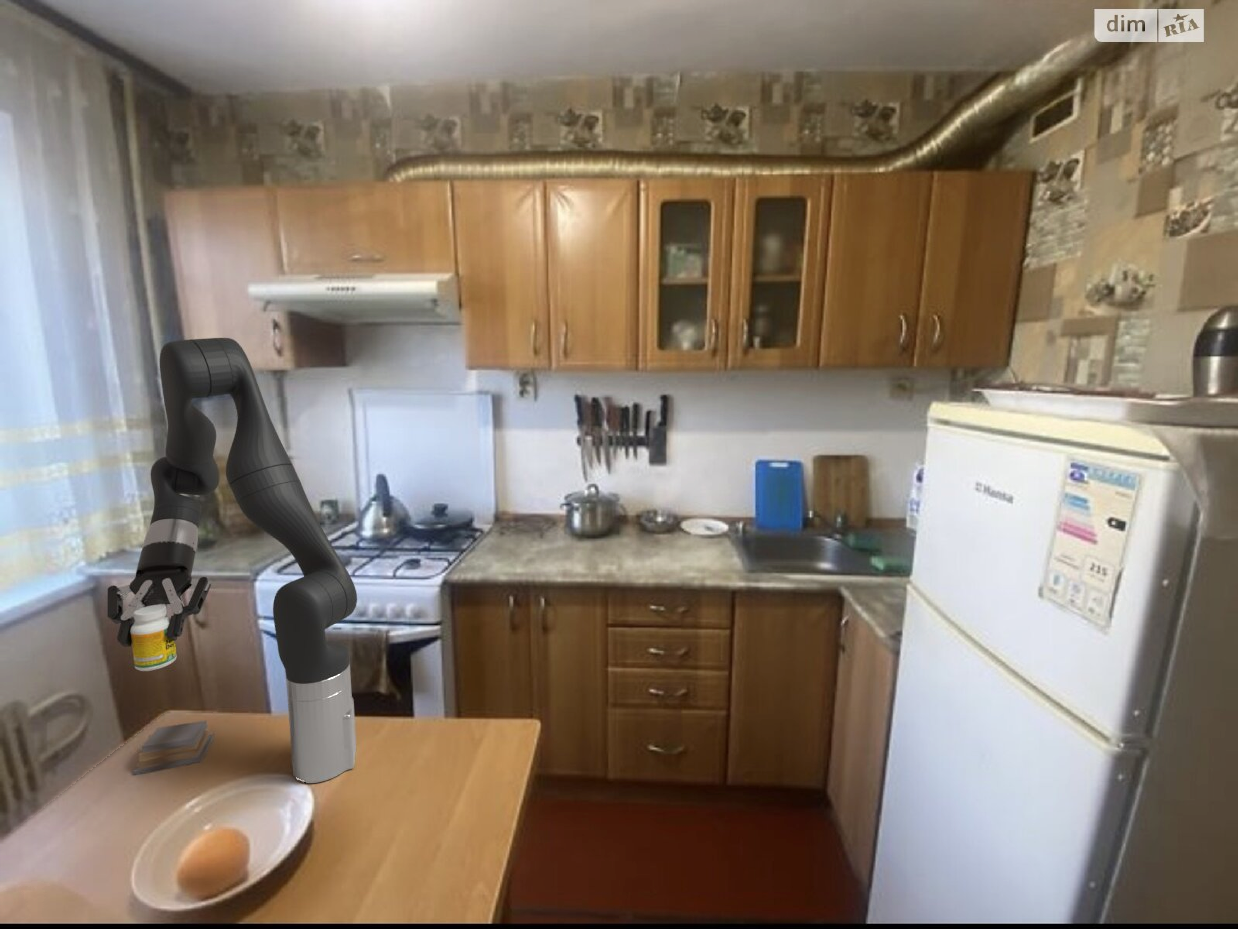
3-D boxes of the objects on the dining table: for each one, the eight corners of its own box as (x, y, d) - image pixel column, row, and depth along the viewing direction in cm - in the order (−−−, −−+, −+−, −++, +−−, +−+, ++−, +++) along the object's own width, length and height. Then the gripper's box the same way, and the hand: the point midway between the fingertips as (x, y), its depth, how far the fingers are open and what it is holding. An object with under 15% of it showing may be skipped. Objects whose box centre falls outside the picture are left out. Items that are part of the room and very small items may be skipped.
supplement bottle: (139, 660, 90) (133, 606, 89) (180, 653, 93) (174, 600, 91) (130, 675, 85) (123, 618, 84) (173, 667, 88) (167, 612, 87)
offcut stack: (214, 737, 97) (211, 715, 96) (201, 761, 91) (198, 738, 90) (151, 749, 94) (149, 727, 93) (134, 775, 87) (131, 751, 87)
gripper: (109, 543, 90) (80, 641, 81) (212, 536, 96) (196, 626, 87) (126, 564, 96) (101, 657, 87) (223, 556, 101) (209, 643, 92)
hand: (149, 641), depth 87 cm, fingers closed on supplement bottle, 5 cm apart
